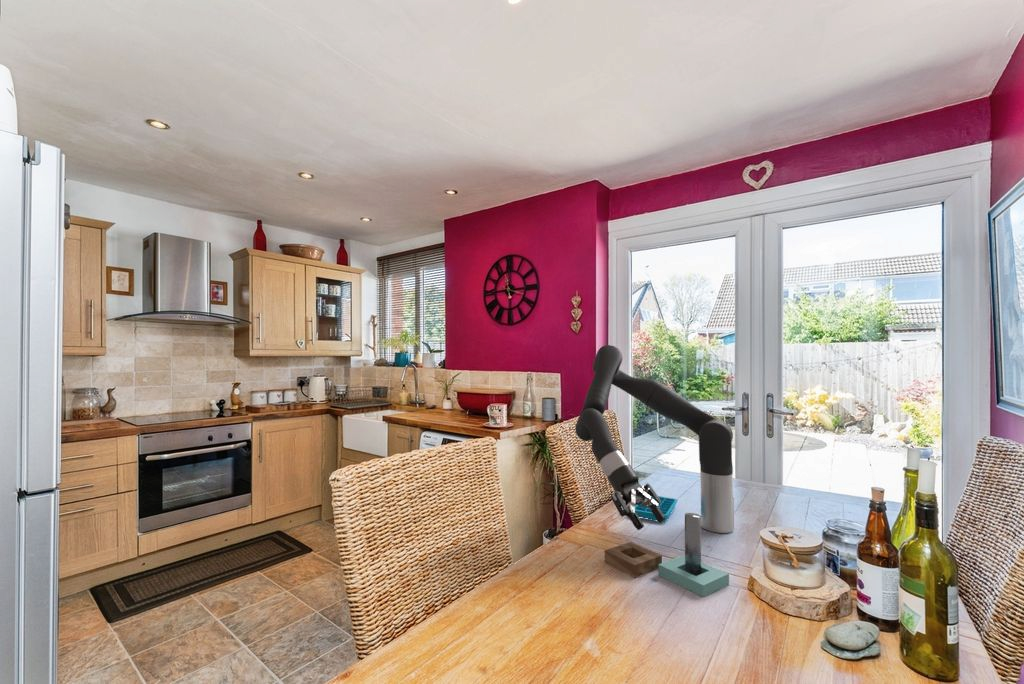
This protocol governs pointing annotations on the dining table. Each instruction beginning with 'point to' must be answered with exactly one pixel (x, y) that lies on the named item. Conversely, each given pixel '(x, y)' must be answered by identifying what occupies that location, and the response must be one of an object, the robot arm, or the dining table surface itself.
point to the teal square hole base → (700, 584)
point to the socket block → (633, 559)
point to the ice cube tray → (664, 505)
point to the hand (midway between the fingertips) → (652, 524)
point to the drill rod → (693, 543)
